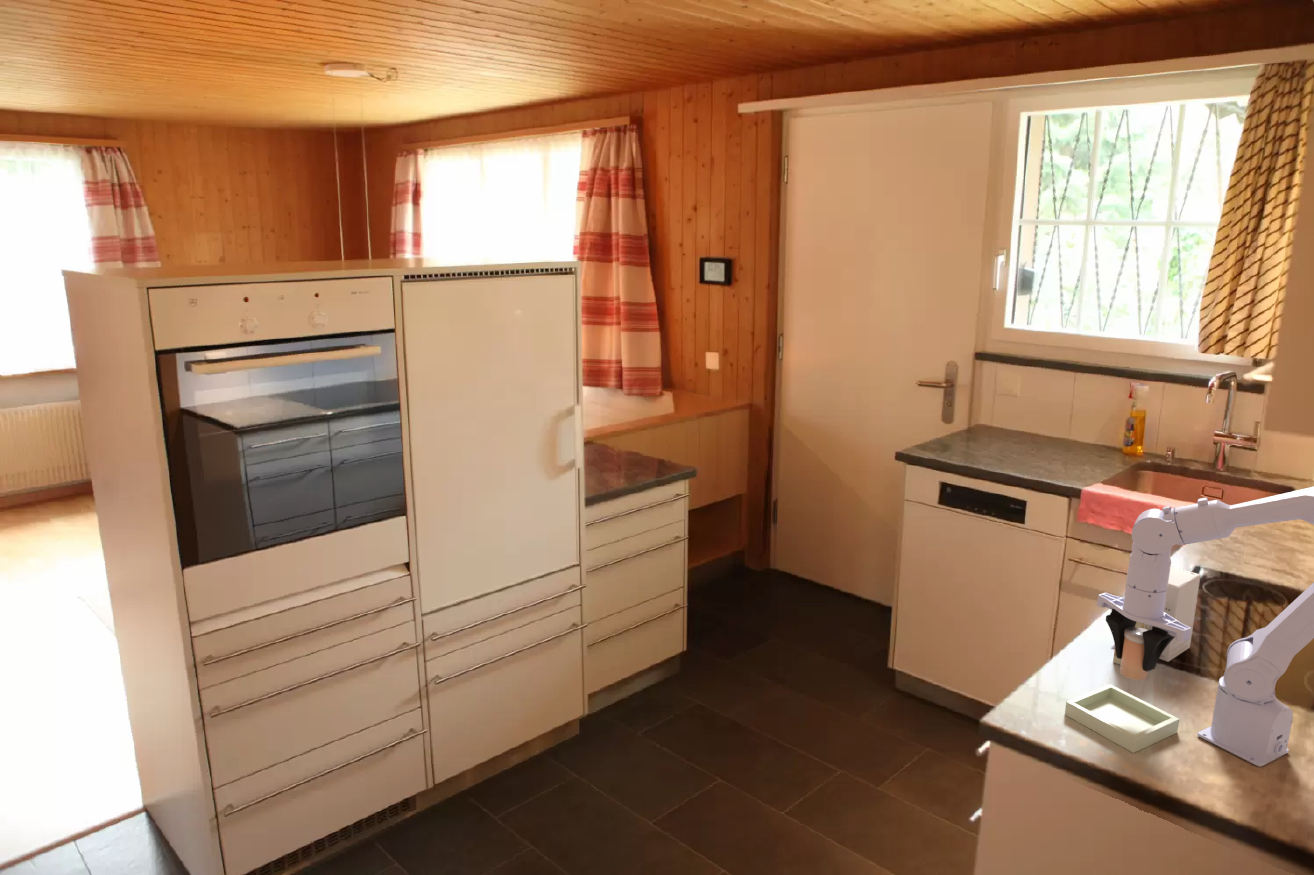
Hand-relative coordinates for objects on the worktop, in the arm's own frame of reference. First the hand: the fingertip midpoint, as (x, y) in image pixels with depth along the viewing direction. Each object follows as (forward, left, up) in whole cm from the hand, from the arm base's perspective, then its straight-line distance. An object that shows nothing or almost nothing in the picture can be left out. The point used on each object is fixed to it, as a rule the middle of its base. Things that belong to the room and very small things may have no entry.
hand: (1135, 662), depth 143 cm
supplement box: (+12, -25, -9) cm, 29 cm away
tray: (-1, +4, -9) cm, 10 cm away
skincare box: (+11, -16, -9) cm, 21 cm away
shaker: (0, 0, -2) cm, 2 cm away
